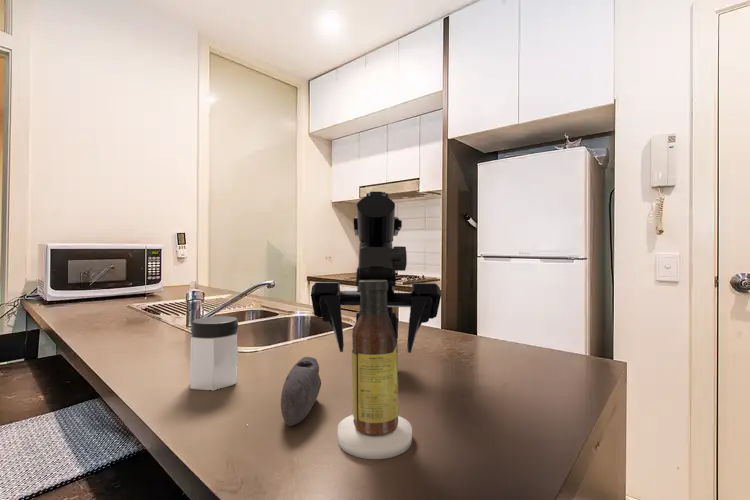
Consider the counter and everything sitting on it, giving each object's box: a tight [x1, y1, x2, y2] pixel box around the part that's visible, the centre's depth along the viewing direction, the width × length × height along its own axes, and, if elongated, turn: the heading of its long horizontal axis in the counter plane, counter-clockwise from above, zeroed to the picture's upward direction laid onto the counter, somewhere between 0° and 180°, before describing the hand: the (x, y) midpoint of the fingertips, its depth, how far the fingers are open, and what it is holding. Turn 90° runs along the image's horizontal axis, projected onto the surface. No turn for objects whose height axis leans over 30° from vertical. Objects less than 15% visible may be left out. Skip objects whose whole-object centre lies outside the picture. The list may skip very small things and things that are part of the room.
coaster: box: [337, 414, 413, 460], centre depth 50 cm, size 10×10×2 cm
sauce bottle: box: [351, 280, 400, 436], centre depth 50 cm, size 6×6×20 cm
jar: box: [189, 315, 239, 392], centre depth 70 cm, size 9×8×12 cm
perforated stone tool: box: [280, 356, 322, 427], centre depth 58 cm, size 15×5×7 cm, turn 177°
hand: (375, 350), depth 50 cm, fingers open, 9 cm apart
